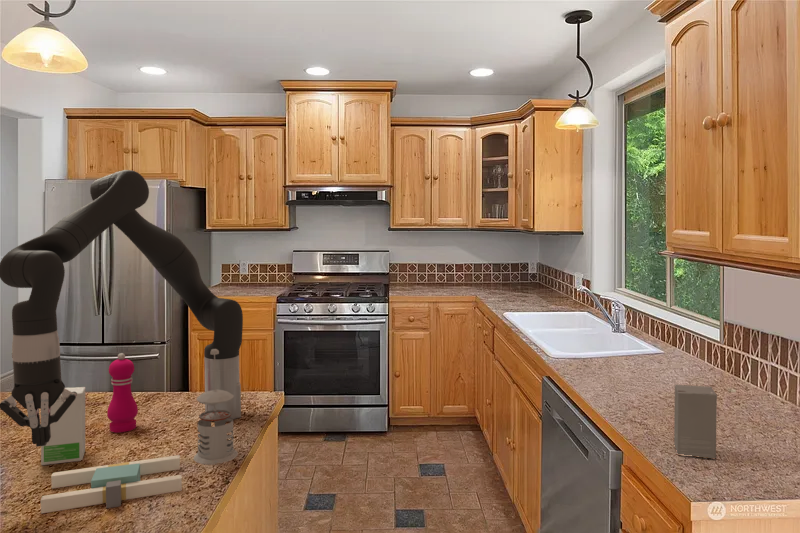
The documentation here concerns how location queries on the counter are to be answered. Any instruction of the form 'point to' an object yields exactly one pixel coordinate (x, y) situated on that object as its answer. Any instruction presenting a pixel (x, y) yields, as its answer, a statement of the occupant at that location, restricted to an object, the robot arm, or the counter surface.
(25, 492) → the counter surface
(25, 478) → the counter surface
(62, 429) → the skincare box
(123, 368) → the pepper mill
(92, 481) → the block
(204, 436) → the french press
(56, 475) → the track
